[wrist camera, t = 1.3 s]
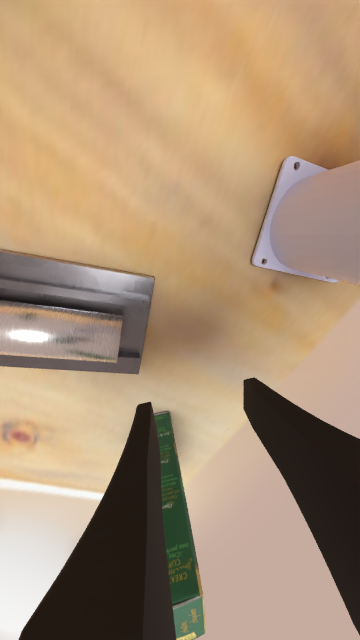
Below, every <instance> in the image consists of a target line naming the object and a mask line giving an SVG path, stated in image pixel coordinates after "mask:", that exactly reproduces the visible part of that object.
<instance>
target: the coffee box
mask: <svg viewBox="0 0 360 640" xmlns="http://www.w3.org/2000/svg"><path fill="white" fill-rule="evenodd" d="M154 417H155V422H156V426H157V430H158V438H159V446H160V459H161V489H162V513H163V525H164V534H165V544H166V553H167V562H168V571H169V580H170V589H171V598H172V606H173V615H174V623H175V632H176V640H193V639H196V638H198V637H200V636H201V635H203V634H204V633H205V614H204V601H203V600H204V599H203V591H202V586H201V580H200V574H199V568H198V563H197V558H196V552H195V546H194V541H193V536H192V530H191V524H190V519H189V514H188V508H187V503H186V498H185V493H184V487H183V482H182V477H181V471H180V466H179V461H178V455H177V450H176V445H175V439H174V434H173V428H172V423H171V416H170V412H162V413H156V414H154Z"/></svg>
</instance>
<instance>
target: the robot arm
mask: <svg viewBox="0 0 360 640" xmlns="http://www.w3.org/2000/svg"><path fill="white" fill-rule="evenodd" d="M294 164H296V170H295V169H294ZM262 259H264V263H263V264H262V263H261V261H262ZM252 264H253V265H255V266H258V267H262V268H267V269H272V270H276V271H281V272H286V273H290V274H295V275H299V276H304V277H309V278H313V279H318V280H323V281H327V282H332V283H336V282H338V281H339V280H340V281H344V282H348V283H353V284H357V285H360V160H358V161H355V162H352V163H349V164H346V165H343V166H340V167H337V168H334V169H331V170H328V169H326V168H323V167H321V166H318V165H315V164H313V163H310V162H308V161H305V160H302V159H300V158H297V157H295V156H290V157H287V158H286V159H285V160H284V161H283V163H282V167H281V170H280V173H279V176H278V179H277V182H276V185H275V188H274V192H273V195H272V198H271V201H270V204H269V207H268V210H267V213H266V217H265V220H264V223H263V226H262V229H261V232H260V235H259V238H258V242H257V245H256V248H255V251H254V254H253V257H252ZM244 411H245V413H246V415H247V417H248V419H249V421H250V423H251V425H252V427H253V429H254V431H255V432H256V433H257V435H258V437H259V439H260V440H261V442H262V444H263V445H264V447H265V448H266V450H267V452H268V453H269V455H270V456H271V458H272V459H273V461H274V463H275V464H276V466H277V468H278V469H279V471H280V472H281V474H282V476H283V478H284V479H285V481H286V483H287V485H288V487H289V489H290V491H291V493H292V494H293V496H294V498H295V500H296V502H297V504H298V506H299V508H300V510H301V512H302V514H303V516H304V518H305V520H306V522H307V524H308V526H309V528H310V530H311V532H312V534H313V536H314V538H315V540H316V543H317V545H318V547H319V549H320V551H321V553H322V555H323V557H324V559H325V562H326V564H327V566H328V568H329V570H330V572H331V575H332V577H333V579H334V581H335V583H336V586H337V588H338V590H339V592H340V594H341V596H342V599H343V601H344V603H345V605H346V608H347V610H348V612H349V615H350V617H351V619H352V621H353V624H354V625H355V627H356V629H357V631H358V633H359V635H360V439H358V438H356V437H354V436H352V435H350V434H348V433H346V432H344V431H341V430H340V429H338V428H336V427H334V426H331V425H330V424H328V423H326V422H324V421H322V420H320V419H319V418H317V417H315V416H313V415H312V414H310V413H308V412H306V411H305V410H303V409H301V408H300V407H298V406H296V405H295V404H293V403H292V402H290V401H289V400H287V399H286V398H284V397H282V396H281V395H280V394H278V393H277V392H275V391H274V390H272V389H271V388H269V387H268V386H266V385H265V384H263V383H262V382H261V381H259V380H258V379H256V378H255V377H254V378H250V379H246V380H244ZM19 640H176V632H175V623H174V615H173V606H172V598H171V589H170V580H169V571H168V562H167V553H166V544H165V534H164V525H163V513H162V489H161V459H160V446H159V438H158V430H157V426H156V422H155V417H154V413H153V409H152V405H151V402H147V403H143V404H139V405H138V406H137V408H136V413H135V417H134V421H133V424H132V427H131V431H130V434H129V437H128V439H127V442H126V445H125V448H124V451H123V453H122V455H121V458H120V460H119V463H118V465H117V468H116V470H115V472H114V475H113V477H112V479H111V481H110V483H109V486H108V488H107V490H106V492H105V494H104V496H103V498H102V500H101V502H100V504H99V506H98V507H97V509H96V511H95V513H94V515H93V517H92V519H91V521H90V522H89V524H88V526H87V528H86V530H85V532H84V533H83V535H82V537H81V538H80V540H79V542H78V543H77V545H76V547H75V548H74V550H73V552H72V554H71V555H70V557H69V558H68V560H67V562H66V563H65V566H64V567H63V569H62V570H61V572H60V573H59V575H58V576H57V578H56V580H55V581H54V583H53V584H52V586H51V587H50V589H49V590H48V592H47V593H46V595H45V596H44V598H43V599H42V601H41V602H40V604H39V606H38V607H37V609H36V610H35V612H34V613H33V615H32V616H31V618H30V619H29V621H28V622H27V624H26V626H25V627H24V629H23V630H22V632H21V635H20V638H19Z"/></svg>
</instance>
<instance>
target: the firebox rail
mask: <svg viewBox="0 0 360 640" xmlns="http://www.w3.org/2000/svg"><path fill="white" fill-rule="evenodd" d="M153 285H154V276H149V275H143V274H137V273H132V272H126V271H120V270H115V269H109V268H103V267H98V266H92V265H86V264H81V263H75V262H70V261H64V260H58V259H53V258H47V257H41V256H36V255H30V254H24V253H19V252H13V251H7V250H2V249H0V300H3V301H11V302H19V303H26V304H34V305H42V306H50V307H58V308H66V309H74V310H82V311H90V312H98V313H106V314H114V315H122V316H123V322H122V330H121V338H120V346H119V353H118V360H117V363H114V362H100V361H86V360H72V359H57V358H43V357H29V356H15V355H0V366H7V367H24V368H41V369H58V370H75V371H93V372H110V373H127V374H139V369H140V363H141V357H142V351H143V345H144V339H145V333H146V327H147V321H148V315H149V309H150V303H151V297H152V291H153Z"/></svg>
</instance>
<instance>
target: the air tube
mask: <svg viewBox="0 0 360 640" xmlns="http://www.w3.org/2000/svg"><path fill="white" fill-rule="evenodd" d="M122 322H123V316H122V315H114V314H106V313H98V312H90V311H82V310H74V309H66V308H58V307H50V306H42V305H34V304H26V303H19V302H11V301H3V300H0V355H15V356H29V357H43V358H57V359H72V360H86V361H100V362H114V363H117V360H118V353H119V346H120V338H121V330H122Z"/></svg>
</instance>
